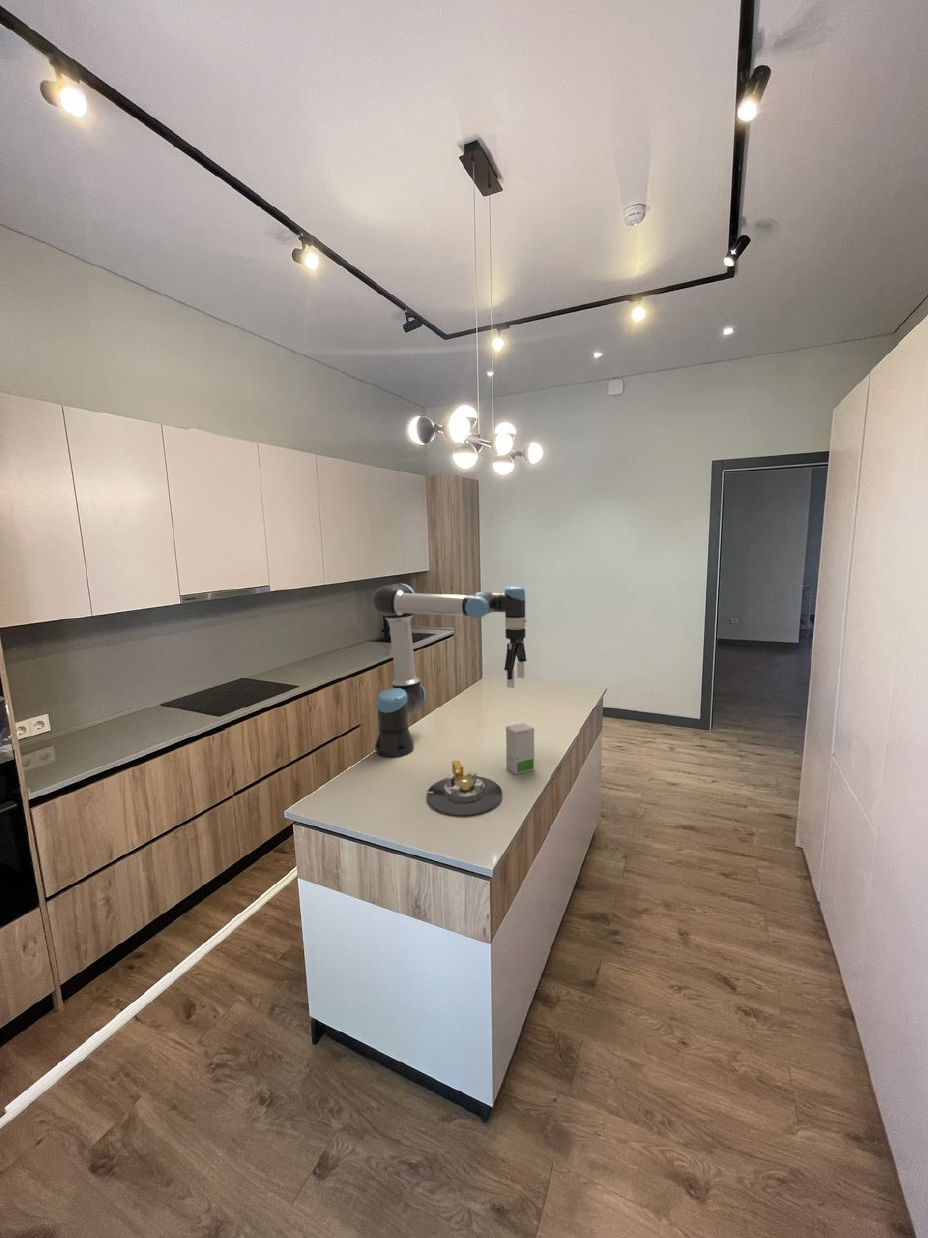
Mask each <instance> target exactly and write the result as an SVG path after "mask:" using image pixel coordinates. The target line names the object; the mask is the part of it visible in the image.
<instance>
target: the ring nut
mask: <svg viewBox="0 0 928 1238" xmlns="http://www.w3.org/2000/svg"><path fill="white" fill-rule="evenodd" d="M451 765H452V766H451V768H452V769H451V770H452V771H451V772H452V774H448V775H447V776H446V777H445V779H446V784H445V786H444V794H445V796H446V798H448V799H450V800H452V801H454V802H463V803H466V802H472V801H476V800H478V799H479V798H481V797H483V795H484V792H485V785H484V784H483V782H482V781H481V780H479V779H477V776H478V774H477V772H475V771H469V772H468V773H466V775H468V776H471V777H473V779H474V790H473V791H472V792H467V793H461V787H459V786H455V778H456V777H458V776H461V775H464V766H463V764H462V763H461V761H460V760H453V761H452V760H451Z"/></svg>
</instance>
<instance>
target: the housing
mask: <svg viewBox="0 0 928 1238" xmlns="http://www.w3.org/2000/svg"><path fill="white" fill-rule="evenodd" d="M477 779H479V780H481V781H482V782H483V784H484V785H485V792H484V795H483V797H481V798H479V799H478V800H476V801H472V802H466V803H463V802H454V801H452V800H450V799H448V798H446V796H445V794H444V786H445V784H446V778H443V779H441V780H438V781H437V782H435V783H433V785H431V786H430V787H429V788H428V790H427V793H426V800H427V803H428V806H430V808H432V809H433V810H435V811H436V812H437V813H439V814H443V815H447V816H450V817H451V816H452V817H461V818H462V817H467V818H468V817H473V816H479V815H484V814H486V813H488V812H490V811H493V810H494V809H495V808H497V807H498V806H499V805H500V804H501V803H502V800H503V790H502V788H501V786H500V785H499V784H498V783H496V782H495V781H494V780H492V779H490V778H487V777H484V776H479V775H477ZM455 786H459V787H461V793H467V792H472V791H473V790H474V779H473V777H471V776H468V775H467V774H463V775H461V776H458V777H456V778H455Z"/></svg>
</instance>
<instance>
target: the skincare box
mask: <svg viewBox="0 0 928 1238" xmlns="http://www.w3.org/2000/svg"><path fill="white" fill-rule="evenodd" d="M505 732H506V733H505V741H506V742H505V743H506V745H505V746H506V748H505V751H506V757H505V759H506V769H508V770H509V771H510V772H511V773H513V774H514V775H519V774H523V773H527V772H531V771H534V770H535V728H534V727H533V726H531V725H529V724H527V723H525V722H524V723H517V724H512V725H507V726H505Z"/></svg>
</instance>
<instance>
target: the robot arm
mask: <svg viewBox="0 0 928 1238" xmlns="http://www.w3.org/2000/svg"><path fill="white" fill-rule="evenodd" d="M525 590H526V589H525V588H524V587H522V586H507V587H505V588H504V591H501V592H500V591H499V592H495V591H494V592H493V591H490V592H489V591H481V592H475V593H474V595H469V594H468V595H467V594H465V595H464V594H439V593H438V594H437V593H417V592H415V591H414V589H413V588H412V587H411V586H409V585H408V584H406V583H394V584H390V585H384V586H380V587H378V588H377V589H376V590H375V592H374V593H373V595H372V598H371V602H372V607H373V609H374V610H375V612H376V613H378V614H380V615H382V616H384V618H385V620H386V621H387V622H388V623H389V624H388V625H389V632H390V634H389V635H390V641H391V651H392V661H393V668H394V680H393V681H392V683H391V685H392V687H391V688H388V689H385V690H382V691H381V692H380V693H378V694H377V698H376V708H377V722H378V733H377V734H378V735H377V738H376V741H375V748H374V749H375V753H376V755H378V756H381V757H384V758H398V757H402V756H405V755H407V754H410V753H411V752H413V751H414V749H415V743H414V740H413V738H412V735H411V732H410V729H409V716H410V715H412V714H414V713H415V712H416V711H418V710H419V709H420V708H421V707H422V705H424V703H425V701H426V696H427V695H426V694H427V693H426V689H425V688H424V686H422V683H421V679H420V678H419V677H417V675H416V673H417V672H416V664H415V656H414V655H415V653H414V646H413V645H414V643H413V637H412V635H413V634H412V626H411V624H412V623H411V619H413V617H414V614H416V615H418V614H419V615H442V616H459V617H460V616H463V617H470V618H472V619H481V618H484V617H485V616H486V615H488V614H491V613H504V614H505V615H504V616H505V618H504V620H505V623H504V627H505V639H507V640H510V641H509V643H507V644H506V655H505V660H504V661H505V663H504V664H505V665H504V669H503V671H506V688H508V689H509V688H511V689H515V670H514V668H515V663H516V664H517V665H516V667H517V668H516V669H517V670H516V671H517V672H516V673H517V675H516V677H517V679H525V662H527V660H528V659H527V655H526V649H525V648H526V647H525V641H524V639H526V622H527V621H528V620H527V619H526V600H527V599H526V592H525ZM516 659H517V662H516ZM376 751H377V752H376Z"/></svg>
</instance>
